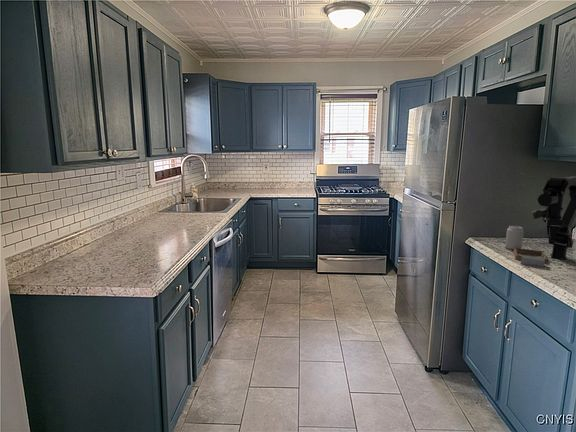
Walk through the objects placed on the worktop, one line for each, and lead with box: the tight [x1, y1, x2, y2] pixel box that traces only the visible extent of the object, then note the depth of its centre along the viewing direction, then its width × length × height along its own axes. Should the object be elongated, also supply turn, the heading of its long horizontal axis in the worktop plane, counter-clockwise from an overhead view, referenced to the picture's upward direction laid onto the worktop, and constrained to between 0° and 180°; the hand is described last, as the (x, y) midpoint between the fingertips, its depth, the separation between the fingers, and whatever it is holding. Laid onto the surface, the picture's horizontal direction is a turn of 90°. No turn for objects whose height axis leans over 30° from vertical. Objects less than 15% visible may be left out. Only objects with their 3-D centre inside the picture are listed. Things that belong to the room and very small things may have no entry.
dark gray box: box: [520, 254, 546, 269], centre depth 171 cm, size 5×9×4 cm, turn 55°
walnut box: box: [513, 248, 548, 264], centre depth 182 cm, size 15×13×2 cm
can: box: [504, 225, 524, 251], centre depth 196 cm, size 8×8×12 cm
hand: (550, 236), depth 174 cm, fingers open, 9 cm apart
